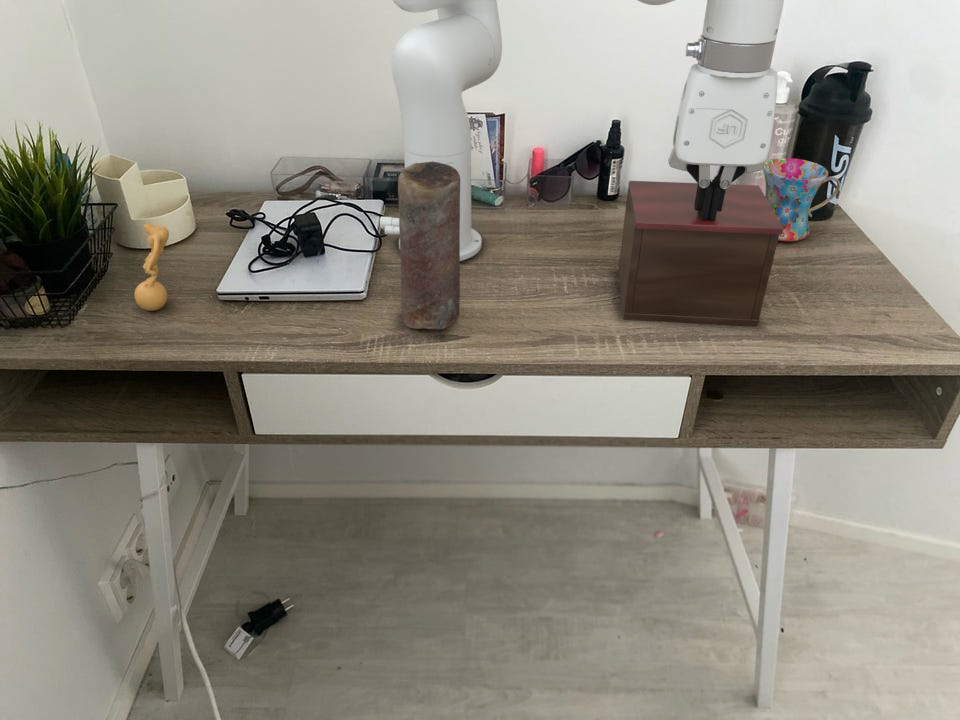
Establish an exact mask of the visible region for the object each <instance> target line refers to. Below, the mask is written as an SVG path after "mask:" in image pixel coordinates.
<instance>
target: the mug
mask: <svg viewBox="0 0 960 720" xmlns="http://www.w3.org/2000/svg"><path fill="white" fill-rule="evenodd" d="M762 172H763V174H764V181H765V194H764V195H765V197H766V199H767V201H768V203H769V204H770V206H771V208H772V210H773V211H774V213H775V215H776V217H777V218H778V220H779V222H780V224H781V225H782V227H783V232H782V235H779V238H778V242H797V241H801V240H804V239H806V238H807V237H808V236H809V235H810V232H811V230H810V226H809V217H810V218H812V217H813V215H812V212H814V211H816V210H818V209H820V208H822V207H824V206H825V205H827V204H828V203H830V202H831V201H832V200H833V199H834V198H835V197H836V196H837V194H838V193H839V191H840V189H841V186H842V185H841V180H840V179H838V178H837V177H835V176H834V177H833V176H829V171H828V169H827V168H825V167H824V166H823V165H821V164H819V163H816V162H812V161H809V160H805V159H800V158H791V157H790V158H789V157H784V158H783V157H781V158H773V159H769V160H767V161H765V162H764V169H763V170H762ZM828 181H834V182H836V187H835V189H834V191H833V192H832V193H831V195H829V196H828V197H827V198H826V199H825V200H823V201H822V202H821V203H818V204H817V205H814V206H812V207H811V205H812V202H813V201H814V200H813V199H814V198H815V195H816V193H817V192H818V190H819V188H820V187H821V186H822V185H823V184H824V183H826V182H828Z"/></svg>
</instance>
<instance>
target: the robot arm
mask: <svg viewBox="0 0 960 720" xmlns="http://www.w3.org/2000/svg"><path fill="white" fill-rule="evenodd" d="M497 1H498V0H392V2H393V3H394V4H395V6H397V7H398V8H399V9H401V10H402V11H404V12H408V13H414V14H415V13H416V14H417V13H425V12H429V11H434V10H436V11H437V16H438V19H436V20H433V21H429V22H426V23H423V24H420V25H417V26H415V27H412V28H411V29H410V30H408V31H407V32H406V33H404V34H403V35H402V36H401V37H400V38H399V40H398V41H397V43H396V45H395V47H394V48H393V52H392V54H391V55H392V56H391V73H392V74H391V75H392V78H393V83H394V87H395V91H396V94H397V99H398V104H399V110H400V119H401V128H402V130H401V131H402V143H403V144H402V145H403V146H402V147H403V158H404V169H405V168H406V167H408V166H410V165H412V164H414V163H421V162H432V161H434V162H439V163H442V164H446V165H449V166H452V167H453V168H455V169H456V170H457V171H458V173H459V175H460V262H463V261H466V260H468V259H470V258H473V257H474V256H476V255H477V254H478V253H479V252H480V251H481V250H482V247H483V239H482V235H481V234H480V232H478V231H477V230H476V229H474V228H472V132H471V131H472V130H471V122H470V118H469V114H468V112H467V109H466V106H465V103H464V100H463V92H465V91H467V90H469V89H471V88H473V87H476V86H479V85H480V84H483V83H484V82H486V81H488V80H490V78H492V77H493V75H495V73H496V72H497V70H498V68H499V67H500V64H501V60H502V56H503V55H502V54H503V38H502V30H501V24H500V23H501V22H500V16H499V9H498V2H497ZM637 1H638V2H640V3H642V4H645V5H649V6H662V5H666V4H669V3H672V2H674V1H676V0H637ZM784 3H785V0H707V1H706V7H705V12H704V19H703V25H702V33H701V34H700V37H699V38H698V40H697V41H694V42H686V47H685V57H692V58H693V59H695V60H696V61H697V63H695V64H692V65H691V67H690V69H689V72H688V74H687V76H686V77H687V78H686V81H685V83H684V87H683V90H682V94H681V98H680V102H679V106H678V111H677V115H676V120H675V124H674V130H673V137H672V146H673V147H672V149H671V152H670V154H669V157H668V160H667V161H668V165H669V167H670V168H672V169H675V170H679V171H682V172H687V173H688V174H689V175H690V176H691V177H692V179H693V180H694V181H695V183H698V186H697V192H696V197H695V204H694V208H695V211H698V212H699V215H700V218H701V220H706V219H710V221H715V219H716V214H717V211H721V210H722V206H723V201H724V196H725V190H726V189H727V188H729V187H730V185H731V184H733V182H735V181H736V180H737V179H739V178H740V177H741V176H743V175H744V174H751V173H755V172H761V171H763V169H764V163H765V162H766V160H767V159H768V156H769V152H770V148H771V143H772V136H773V129H774V122H775V116H776V115H775V114H776V106H777V98H778V97H777V95H778V71H776V70H775V69H773V68H772V67H771V66H772V61H773V56H774V53H775V47H776V42H777V37H778V33H779V27H780V22H781V17H782V12H783V8H784ZM711 166H718V168H717V171H716V174H715V176H714V177H713V178H712V179H711ZM379 228H380V230H384V235H385V236H400V229H399V217H393V216H380V218H379ZM398 249H399V250H400V237H399V238H398Z"/></svg>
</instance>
